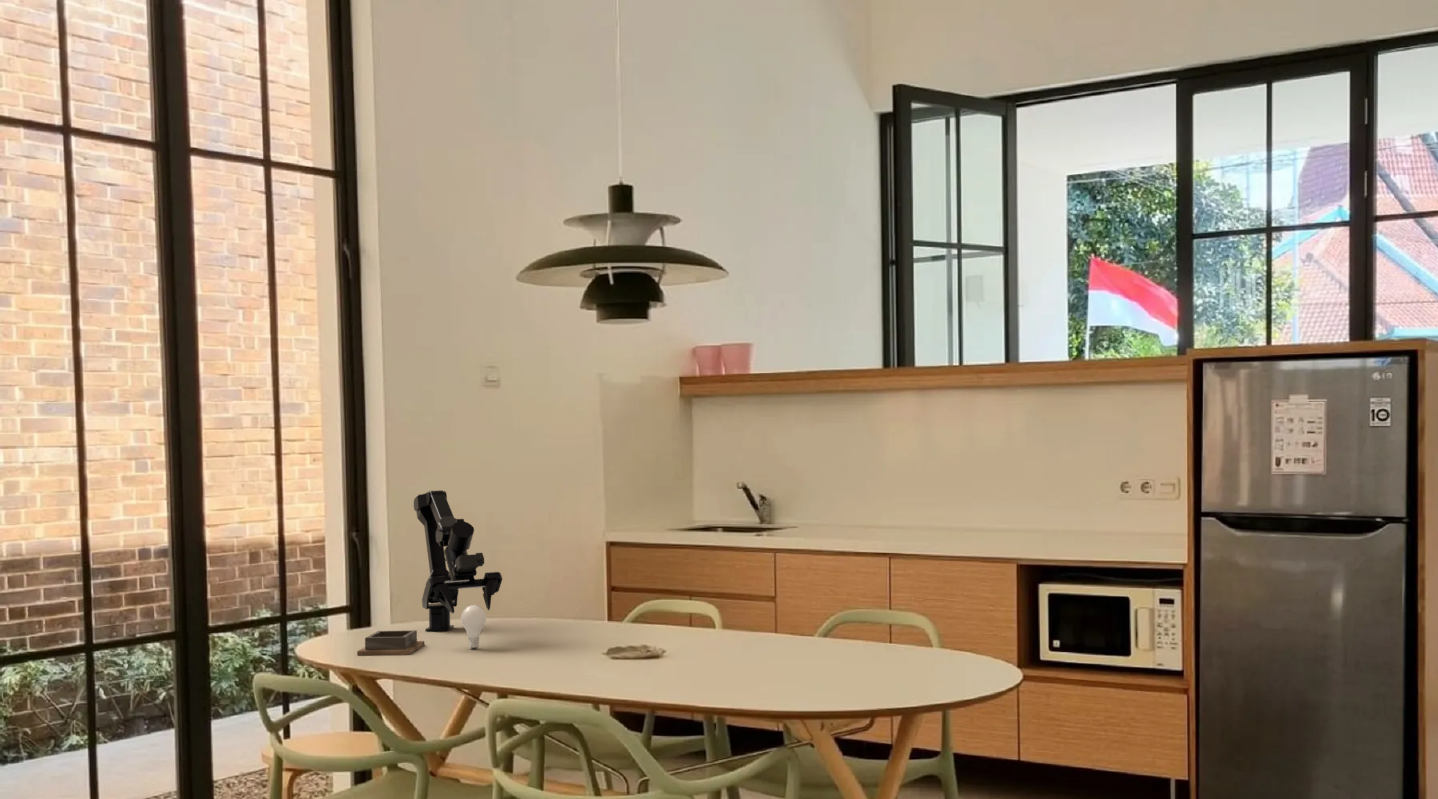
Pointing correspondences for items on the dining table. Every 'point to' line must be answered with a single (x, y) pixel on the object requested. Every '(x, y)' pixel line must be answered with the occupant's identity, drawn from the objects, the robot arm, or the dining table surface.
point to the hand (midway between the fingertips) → (471, 610)
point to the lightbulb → (473, 623)
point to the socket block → (391, 643)
